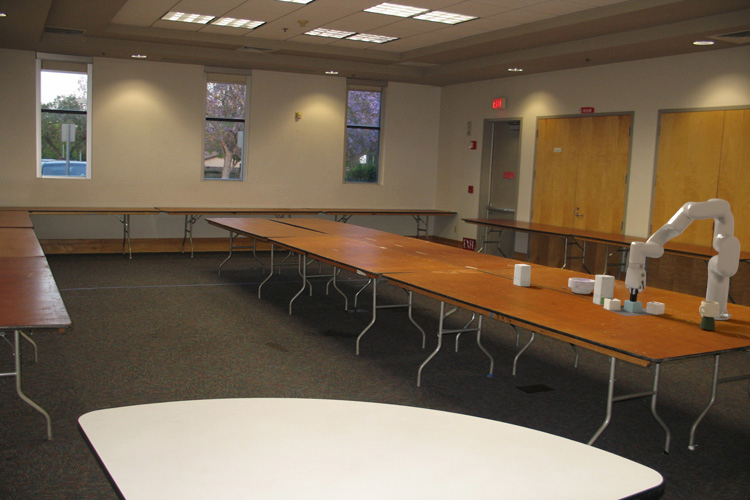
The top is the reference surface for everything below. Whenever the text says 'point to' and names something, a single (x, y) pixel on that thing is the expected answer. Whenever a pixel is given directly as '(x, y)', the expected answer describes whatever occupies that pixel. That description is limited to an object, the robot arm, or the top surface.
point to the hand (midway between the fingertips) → (633, 301)
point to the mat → (627, 313)
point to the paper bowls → (581, 285)
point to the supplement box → (522, 275)
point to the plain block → (632, 306)
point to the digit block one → (655, 308)
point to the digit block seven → (612, 304)
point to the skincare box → (603, 288)
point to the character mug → (708, 314)
